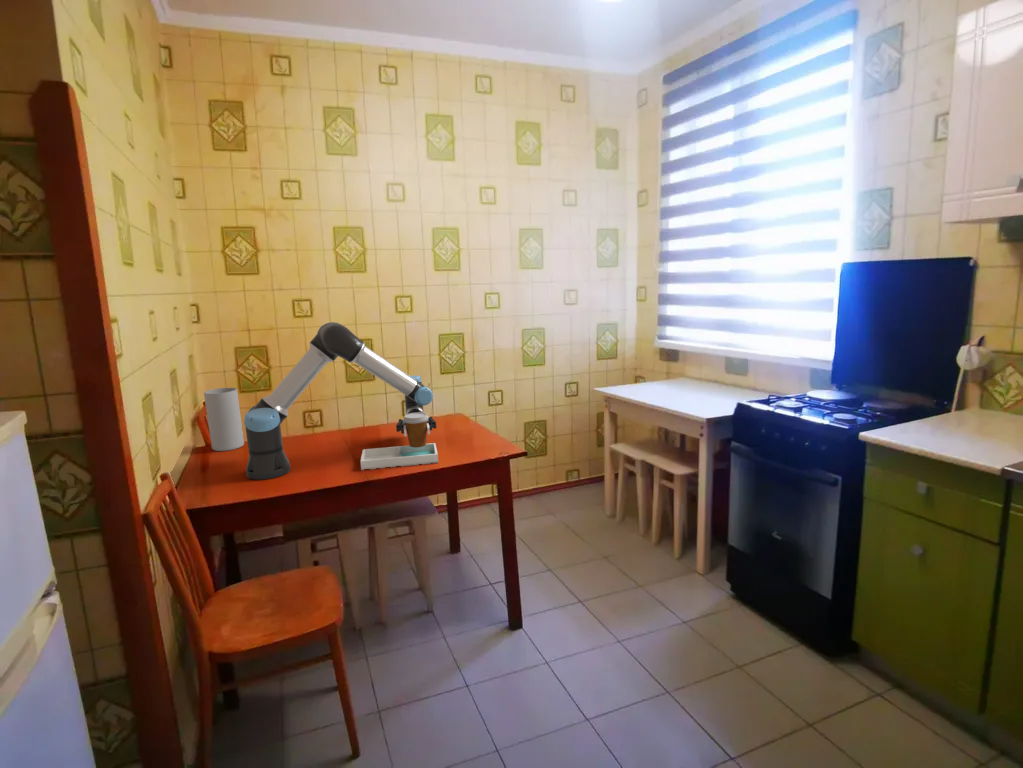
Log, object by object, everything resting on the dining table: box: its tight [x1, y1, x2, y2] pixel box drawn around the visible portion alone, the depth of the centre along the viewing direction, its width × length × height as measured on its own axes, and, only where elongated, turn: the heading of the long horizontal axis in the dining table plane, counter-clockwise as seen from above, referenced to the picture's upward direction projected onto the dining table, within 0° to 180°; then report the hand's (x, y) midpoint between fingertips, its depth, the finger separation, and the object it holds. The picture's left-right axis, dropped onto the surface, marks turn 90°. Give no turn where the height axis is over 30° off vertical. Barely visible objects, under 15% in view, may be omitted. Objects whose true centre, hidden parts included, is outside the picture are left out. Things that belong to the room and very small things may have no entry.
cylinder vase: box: [203, 387, 245, 452], centre depth 239 cm, size 12×12×25 cm
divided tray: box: [359, 442, 439, 471], centre depth 216 cm, size 28×15×4 cm, turn 101°
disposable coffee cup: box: [402, 412, 429, 448], centre depth 215 cm, size 10×10×12 cm
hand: (417, 432), depth 211 cm, fingers closed on disposable coffee cup, 8 cm apart
